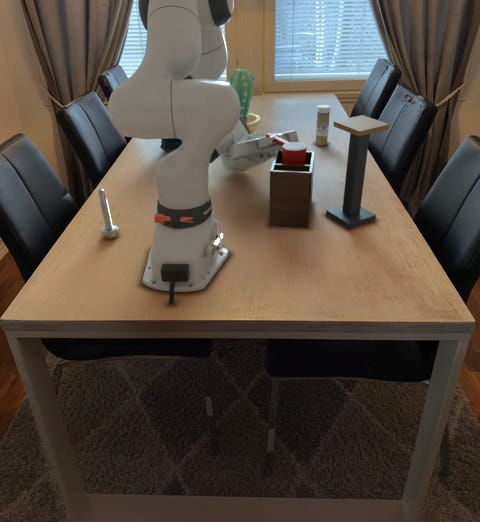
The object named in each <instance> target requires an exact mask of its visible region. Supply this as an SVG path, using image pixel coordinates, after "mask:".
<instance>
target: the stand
mask: <svg viewBox="0 0 480 522" xmlns="http://www.w3.org/2000/svg"><path fill="white" fill-rule="evenodd" d="M333 127H334V128H337V129H339V130H340V131H341V130H342V131H344V132H346V133H349V142H348V152H347V161H346V169H345V170H346V172H345V182H344V191H343V201H342V205H338V206H335V207H332V208H328V209H326V210H325V216H327V217H329V218H330V219H331V220H333V221H335V222H336V223H338V224H340V226H343V227H344V228H346V229H348V230H350V229H353V228H356V227H359V226H362V225H365V224H368V223H370V222H374V221H376V218H377V214H375V213H374V212H371V211H370V210H368V209H366V208H364V207H363V206H362V199H363V191H364V182H365V176H366V175H365V174H366V167H367V158H368V152H369V151H368V150H369V142H370V136H371V134H376V133H379V132H384V131H388V130H389V129H390V124H389V123H387V122H384V121H381V120H378V119H375V118H372V117H370V116H367V115H364V114H361V115H356V116H352V117H348V118H347V117H346V118H342V119H338V120H334V121H333Z"/></svg>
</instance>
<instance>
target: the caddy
mask: <svg viewBox="0 0 480 522" xmlns="http://www.w3.org/2000/svg"><path fill="white" fill-rule="evenodd" d="M315 154H316V151H313V150H312V151H311V150H306V165H298V164H282V150H277V151H276V154H275V157H273V160H272V164H271V167H270V170H269V226H270V227H283V228H295V229H297V228H298V229H309V228H310V219H311V212H312V204H313V203H312V202H313V188H314V172H315V158H316V157H315V156H316V155H315Z"/></svg>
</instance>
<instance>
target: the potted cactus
mask: <svg viewBox="0 0 480 522" xmlns="http://www.w3.org/2000/svg"><path fill="white" fill-rule="evenodd" d="M255 82H256V78H255V77H254V74H253V73H252V72H250V71H249V70H248V69H246V68H245V67H244V68H243V67H242V68H240V67H238V68H237V69H236V68H234V70H233V71H232V73H230V76H229V77H228V80H227V83H229V84H230V85H231V86H232V87H233V88H234V89H235V91H236V93H237V95H238V97H239V100H240V116H241V117H242V118H243V119H244V121H245V122H246V124H247V126H248V128H249V130H250V134H253V133H256V132H257V129H258V127H259V125H260V124H261V120H262V119H261V117H260V115H259V114H255V113H251V112H249V109H250V105H251V101H252V98H253V96H254V89H255Z"/></svg>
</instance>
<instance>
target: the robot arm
mask: <svg viewBox="0 0 480 522" xmlns="http://www.w3.org/2000/svg"><path fill="white" fill-rule="evenodd" d="M137 5H138V7H137V8H138V14H139V18H140V21H141V24H142V26H143V27H144V29H145V31H146V42H145V51H144V55H143V58H142V60H141V62H140V64H139V66H138V67H137V69H136V70H135V71H134V72H133V73H132V75H130V76H129V77H128V78H127V79H125V80H124V81H123V82H122V83H120V84H118V85H117V86H116V87H115V88H114V89H113V91H112V92H111V94H110V96H109V99H108V104H107V112H108V117H109V121H110V123H111V125H112V126H113V128H114V129H115V130H116V132H118V134H119V135H121V136H122V137H127V138H132V139H139V140H161V139H166V138H177V139H181V140H182V144H181V146H180V147H179V148H177V149H176V150H174V151H172V152H170V153H166V154H165V155H164V156H162V157H161V158H160V159H159V160H158V162H157V163H156V166H155V170H154V175H155V183H156V184H155V185H156V191H157V201H156V213H154V215H153V216H154V217H153V222H154V223H155V227H154V233H153V238H152V245H151V246H150V249H149V254H148V257H147V261H146V264H145V269H144V273H143V277H142V284H143V285H144V286H146V287H148V288H150V289H154V290H156V291H157V290H158V291H163V292H168V296H169V297H168V298H169V299H168V303H169V305H172V304H174V302H175V293H188V292H189V293H191V292H196V291H202V290H204V289H205V288H206V287H207V286H208V285H209V283H210V282H211V280H212V279H213V278H214V276H215V275H216V274H217V272H218V271H219V269H220V268H221V267H222V265H223V264H224V263H225V261H226V260H227V259H228V257H229V255H230V253H229V249H227V248H226V247H224V246H223V242H222V240H223V237H224V233H222V232H221V226H220V222H219V221H218V219H217V218H215V217H214V215H213V201H212V196H211V194H210V193H209V192H210V190H209V171H210V170H209V169H210V168H209V167H210V164H212V163H213V162H215V161H216V160H217V159H218V158H219V157H220V156H221V163H222V166H223V167H224V168H225V169H226V170H228V171H229V172H233V173H241V172H245V171H247V170H249V169H251V168H254V167H257V166H259V165H261V164H264V163H265V162H267V161H268V160H271V159H274V157H275V154H276V151H277V150H282V146H280V145H278V144H277V143H275V139H274V136H271V137H267V138H266V134H267V133H256V132H255V133H253V134H250V130H249V128H248V126H247V124H246V122H245V121H244V119H243V118H242V117H241V116H240V100H239V97H238V95H237V93H236V91H235V89H234V88H233V87H232V86H231V85H230V84H229V83H228V81H222V80H219V79H220V78H221V77H222V75H224V72H225V71H226V68H227V66H228V49H227V44H226V39H225V36H224V32H223V28H222V26H224V25H226V24H228V23H229V22H230V20H231V19H232V18H233V14H234V13H233V11H234V6H235V0H137ZM271 133H272V132H271ZM272 134H274V135H276V136H278V137H280V138H282V139H285V140H287V141H289V142H299V136H298V132H297V131H296V130H295V129H293V130H292V129H291V130H288V131H284V132H280V133H279V132H273V133H272ZM299 143H300V142H299Z"/></svg>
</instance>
